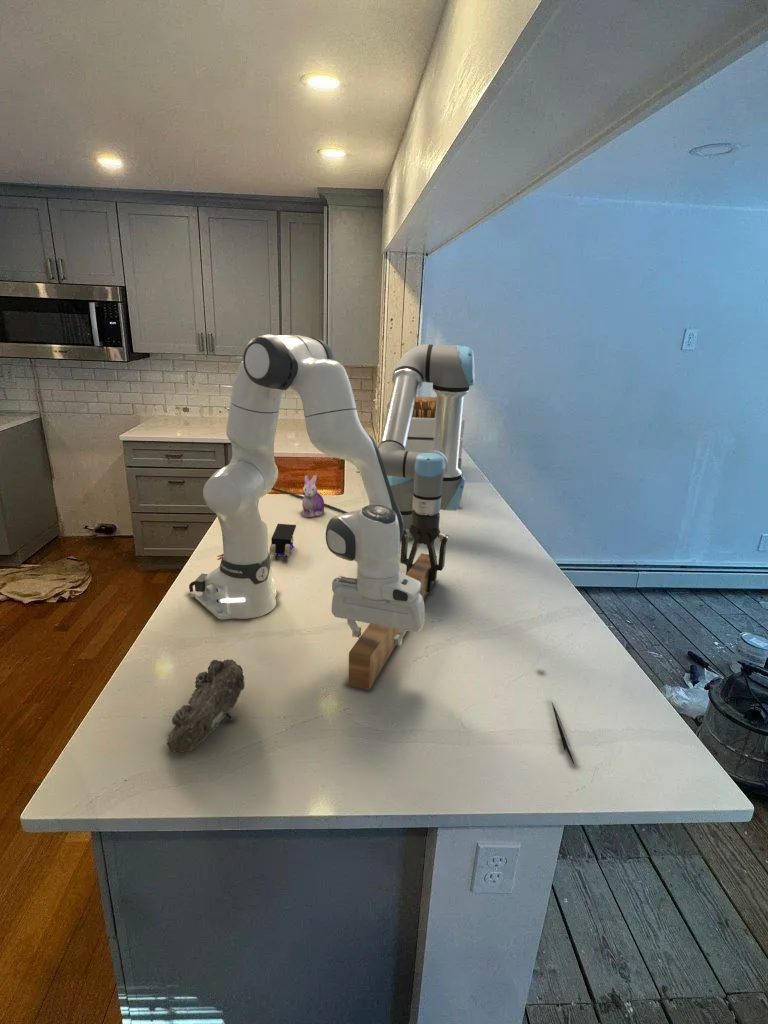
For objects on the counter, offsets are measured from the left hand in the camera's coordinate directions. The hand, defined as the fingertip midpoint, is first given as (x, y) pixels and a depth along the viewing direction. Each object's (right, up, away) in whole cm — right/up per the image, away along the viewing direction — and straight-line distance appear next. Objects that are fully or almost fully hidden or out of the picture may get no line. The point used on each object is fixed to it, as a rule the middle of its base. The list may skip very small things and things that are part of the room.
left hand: (377, 639), depth 123 cm
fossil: (-31, -11, -15) cm, 36 cm away
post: (+5, 0, +20) cm, 21 cm away
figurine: (-25, +27, +92) cm, 100 cm away
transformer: (+19, +47, +152) cm, 160 cm away
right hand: (+12, +6, +37) cm, 40 cm away
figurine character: (-30, +15, +57) cm, 66 cm away
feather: (+36, -13, -10) cm, 39 cm away
